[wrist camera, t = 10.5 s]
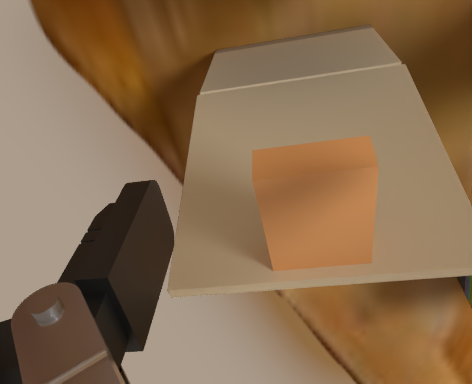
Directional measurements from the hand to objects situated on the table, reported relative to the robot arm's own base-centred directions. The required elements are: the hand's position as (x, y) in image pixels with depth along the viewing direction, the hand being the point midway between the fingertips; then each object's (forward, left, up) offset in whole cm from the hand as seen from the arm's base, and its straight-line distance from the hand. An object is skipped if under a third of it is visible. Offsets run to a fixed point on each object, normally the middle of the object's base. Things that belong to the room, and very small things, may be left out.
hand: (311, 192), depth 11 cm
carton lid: (0, +6, -11) cm, 12 cm away
